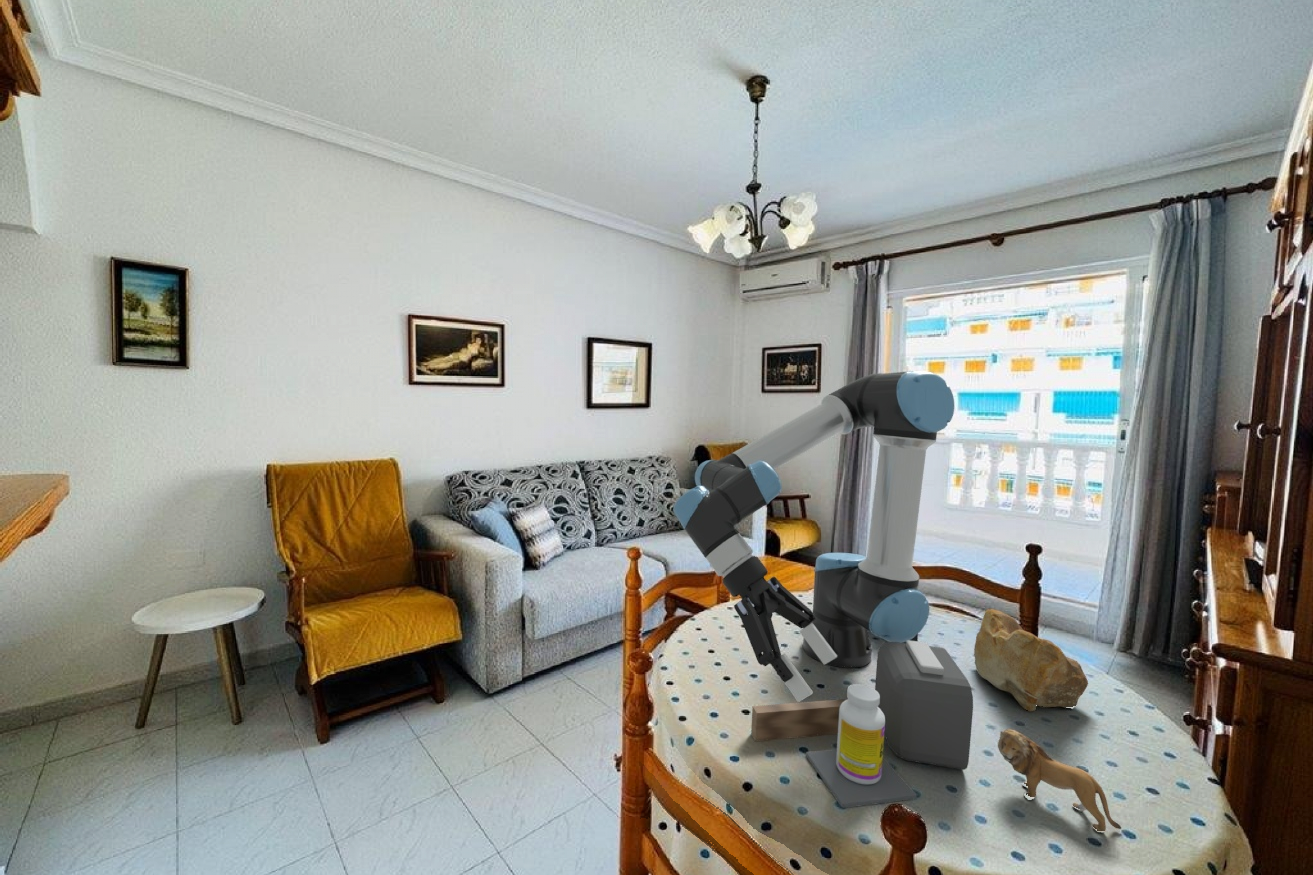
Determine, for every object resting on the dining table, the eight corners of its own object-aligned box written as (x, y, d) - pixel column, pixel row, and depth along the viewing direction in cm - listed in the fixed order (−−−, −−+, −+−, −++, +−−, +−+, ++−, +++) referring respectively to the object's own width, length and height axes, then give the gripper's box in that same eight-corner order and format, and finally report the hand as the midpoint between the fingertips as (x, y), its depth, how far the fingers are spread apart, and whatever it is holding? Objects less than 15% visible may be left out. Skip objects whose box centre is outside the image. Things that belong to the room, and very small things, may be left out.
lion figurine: (993, 791, 78) (998, 734, 78) (995, 772, 83) (1000, 718, 82) (1122, 844, 70) (1129, 780, 69) (1118, 819, 74) (1124, 759, 73)
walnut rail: (856, 724, 94) (857, 697, 93) (862, 731, 92) (864, 704, 91) (751, 733, 90) (752, 706, 89) (755, 741, 88) (756, 713, 88)
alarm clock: (967, 778, 81) (975, 682, 80) (889, 765, 83) (896, 671, 82) (934, 716, 97) (940, 636, 96) (870, 707, 99) (875, 628, 98)
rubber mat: (872, 748, 87) (872, 745, 87) (916, 798, 76) (916, 794, 76) (806, 755, 85) (806, 751, 85) (842, 807, 74) (842, 803, 74)
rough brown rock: (1117, 743, 92) (1132, 662, 92) (1015, 721, 95) (1029, 643, 94) (1044, 679, 115) (1055, 614, 114) (963, 663, 118) (974, 599, 117)
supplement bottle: (885, 790, 77) (891, 707, 76) (839, 782, 78) (844, 700, 77) (876, 760, 83) (881, 683, 82) (833, 753, 85) (837, 677, 84)
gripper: (751, 560, 102) (823, 657, 95) (687, 599, 81) (773, 726, 74) (778, 539, 99) (855, 637, 92) (719, 573, 78) (812, 704, 71)
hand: (819, 677), depth 83 cm, fingers open, 13 cm apart
